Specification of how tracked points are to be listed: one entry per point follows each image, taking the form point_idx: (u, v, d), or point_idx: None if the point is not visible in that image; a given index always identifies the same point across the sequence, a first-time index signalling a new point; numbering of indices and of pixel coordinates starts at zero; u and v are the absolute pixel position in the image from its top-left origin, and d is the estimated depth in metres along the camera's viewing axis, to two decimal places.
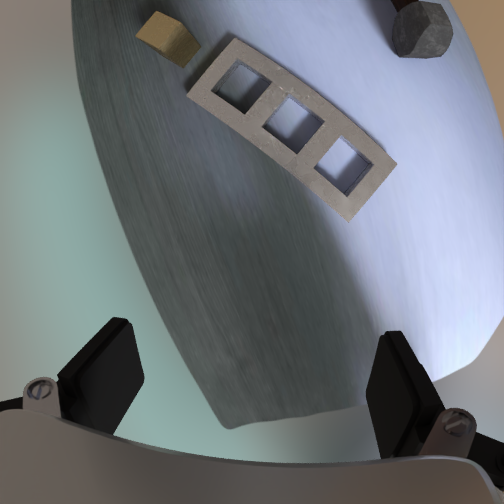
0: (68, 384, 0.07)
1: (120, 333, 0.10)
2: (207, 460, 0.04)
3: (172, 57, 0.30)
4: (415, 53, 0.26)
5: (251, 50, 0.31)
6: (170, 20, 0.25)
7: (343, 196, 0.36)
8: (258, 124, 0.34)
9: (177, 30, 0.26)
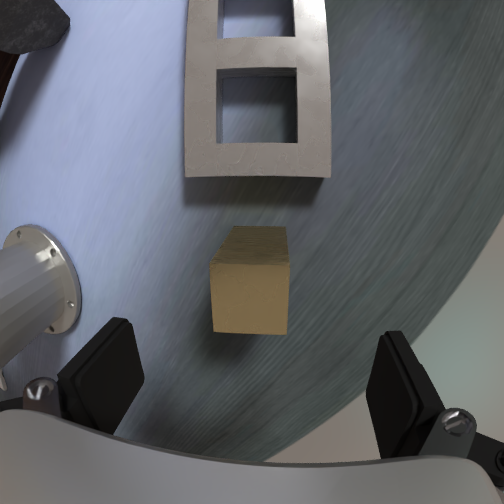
0: (68, 384, 0.07)
1: (120, 333, 0.10)
2: (207, 460, 0.04)
3: (283, 242, 0.19)
4: None
5: (188, 135, 0.20)
6: (217, 287, 0.15)
7: None
8: (295, 42, 0.17)
9: (228, 259, 0.16)
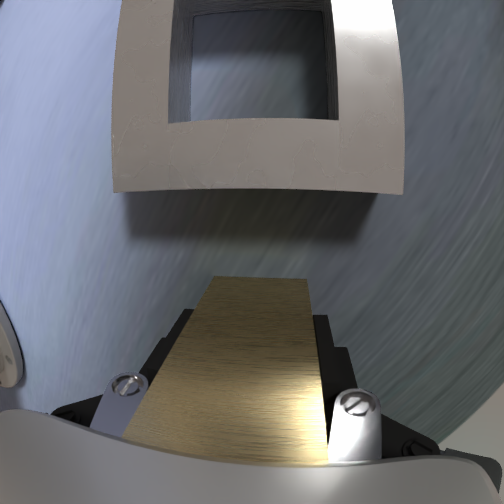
0: None
1: None
2: (207, 460, 0.04)
3: (307, 340, 0.08)
4: None
5: (119, 111, 0.09)
6: None
7: None
8: None
9: (171, 423, 0.05)
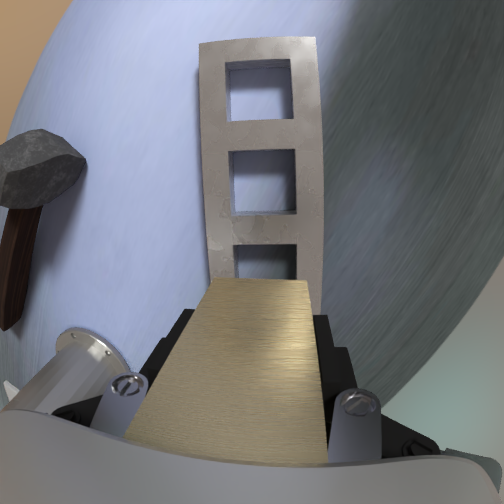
0: None
1: None
2: (207, 460, 0.04)
3: (308, 342, 0.08)
4: (60, 150, 0.22)
5: None
6: None
7: (293, 62, 0.21)
8: (296, 219, 0.25)
9: (171, 425, 0.05)
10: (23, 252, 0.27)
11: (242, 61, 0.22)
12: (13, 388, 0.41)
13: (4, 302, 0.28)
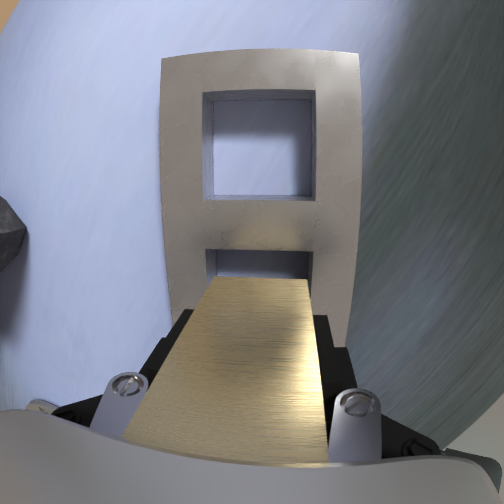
0: None
1: None
2: (207, 460, 0.04)
3: (308, 341, 0.08)
4: None
5: None
6: None
7: (320, 98, 0.13)
8: None
9: (170, 424, 0.05)
10: None
11: (232, 91, 0.13)
12: None
13: None
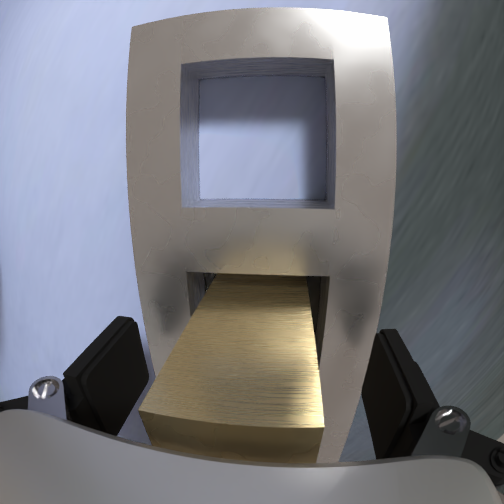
0: (74, 383, 0.07)
1: (125, 332, 0.10)
2: (207, 460, 0.04)
3: (305, 324, 0.09)
4: None
5: None
6: (164, 446, 0.06)
7: (340, 70, 0.09)
8: None
9: (183, 395, 0.06)
10: None
11: (221, 61, 0.09)
12: None
13: None
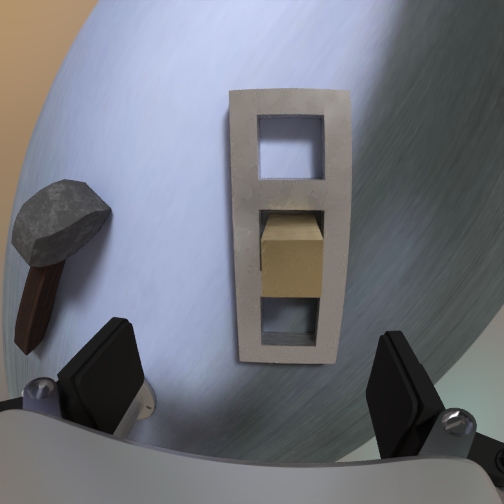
0: (68, 384, 0.07)
1: (120, 333, 0.10)
2: (207, 460, 0.04)
3: (314, 225, 0.23)
4: (87, 207, 0.24)
5: (241, 338, 0.29)
6: (267, 259, 0.20)
7: (327, 119, 0.22)
8: None
9: (275, 237, 0.20)
10: (48, 291, 0.30)
11: (274, 114, 0.23)
12: None
13: (28, 334, 0.31)
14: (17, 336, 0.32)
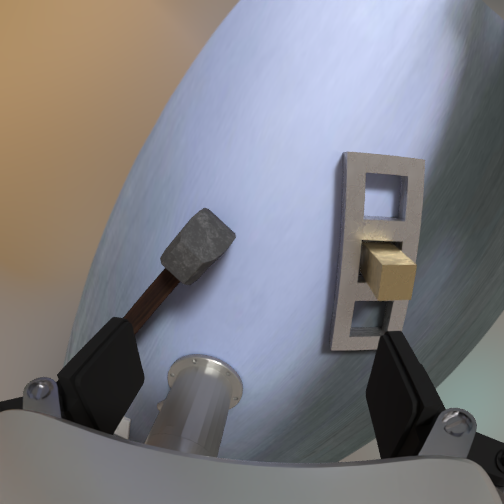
0: (68, 384, 0.07)
1: (120, 333, 0.10)
2: (207, 460, 0.04)
3: (401, 252, 0.32)
4: (230, 234, 0.33)
5: (336, 332, 0.38)
6: (384, 276, 0.29)
7: (409, 179, 0.32)
8: None
9: (388, 262, 0.29)
10: None
11: None
12: None
13: None
14: None
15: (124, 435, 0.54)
